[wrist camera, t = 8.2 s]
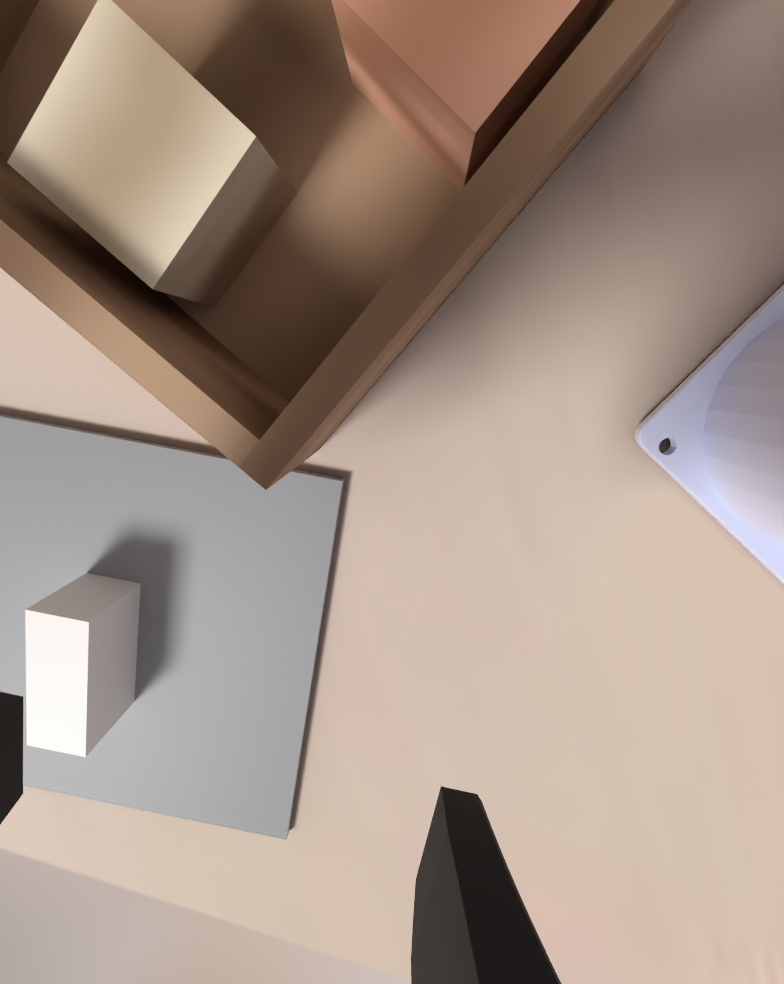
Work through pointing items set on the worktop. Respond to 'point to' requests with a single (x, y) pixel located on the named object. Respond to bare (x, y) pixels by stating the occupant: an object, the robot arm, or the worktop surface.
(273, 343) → the storage box
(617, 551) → the worktop surface
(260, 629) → the lid
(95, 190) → the cream block
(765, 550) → the robot arm
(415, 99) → the terracotta block
